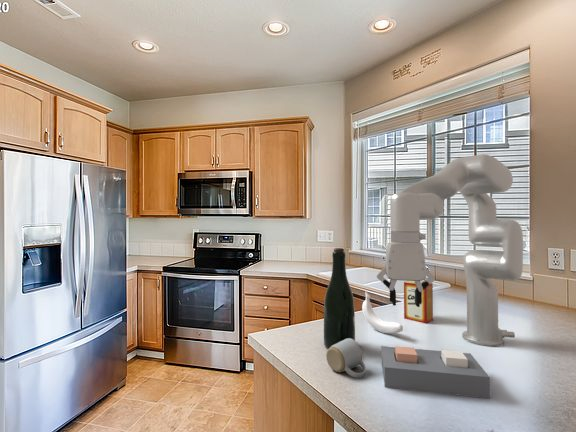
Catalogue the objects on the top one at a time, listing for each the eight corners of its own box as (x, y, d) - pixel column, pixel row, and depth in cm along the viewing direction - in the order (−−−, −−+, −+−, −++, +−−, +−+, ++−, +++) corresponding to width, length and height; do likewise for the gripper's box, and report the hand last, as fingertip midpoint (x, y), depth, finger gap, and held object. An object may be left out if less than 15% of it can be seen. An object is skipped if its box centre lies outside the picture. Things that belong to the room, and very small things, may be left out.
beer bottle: (352, 354, 101) (352, 249, 101) (320, 350, 105) (319, 249, 105) (357, 342, 111) (356, 247, 111) (327, 339, 114) (327, 246, 115)
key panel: (470, 371, 90) (470, 353, 90) (490, 398, 76) (489, 377, 76) (381, 363, 95) (381, 346, 95) (384, 386, 81) (384, 367, 82)
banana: (400, 341, 112) (400, 299, 112) (358, 327, 127) (358, 290, 127) (408, 338, 115) (408, 297, 115) (366, 324, 130) (366, 288, 130)
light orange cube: (414, 365, 89) (414, 347, 89) (417, 373, 84) (417, 355, 84) (395, 363, 90) (395, 346, 90) (397, 371, 85) (397, 353, 85)
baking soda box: (404, 318, 138) (403, 281, 138) (411, 315, 143) (411, 279, 143) (426, 323, 131) (425, 284, 131) (432, 320, 136) (432, 282, 136)
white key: (461, 369, 86) (461, 351, 86) (467, 378, 81) (467, 359, 81) (441, 367, 87) (441, 349, 87) (446, 376, 82) (446, 357, 83)
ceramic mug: (324, 368, 92) (324, 341, 92) (342, 360, 97) (343, 334, 97) (353, 383, 84) (353, 353, 84) (372, 373, 89) (372, 345, 89)
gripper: (435, 237, 89) (436, 303, 89) (372, 237, 93) (372, 300, 93) (442, 239, 82) (443, 310, 82) (373, 238, 86) (373, 306, 85)
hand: (405, 304), depth 87 cm, fingers open, 5 cm apart
